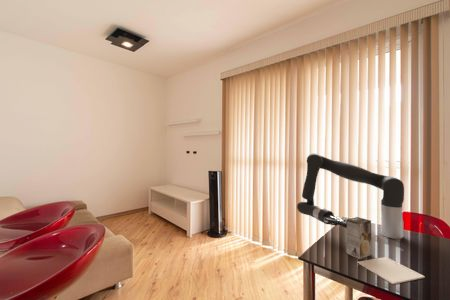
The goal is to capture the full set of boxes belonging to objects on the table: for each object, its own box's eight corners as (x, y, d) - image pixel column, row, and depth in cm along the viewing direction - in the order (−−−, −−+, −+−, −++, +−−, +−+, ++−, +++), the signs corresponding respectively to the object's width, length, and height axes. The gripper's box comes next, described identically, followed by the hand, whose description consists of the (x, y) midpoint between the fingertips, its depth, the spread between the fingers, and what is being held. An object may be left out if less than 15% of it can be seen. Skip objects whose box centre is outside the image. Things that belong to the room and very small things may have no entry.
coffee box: (357, 249, 100) (357, 216, 100) (371, 255, 94) (371, 220, 94) (345, 253, 96) (345, 219, 96) (360, 260, 90) (360, 223, 90)
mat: (386, 258, 91) (386, 257, 91) (424, 277, 77) (424, 276, 77) (357, 262, 88) (357, 261, 88) (392, 284, 73) (392, 283, 73)
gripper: (313, 209, 116) (336, 219, 99) (332, 207, 119) (358, 217, 102) (313, 222, 116) (336, 234, 99) (332, 220, 119) (358, 232, 102)
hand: (347, 225), depth 101 cm, fingers closed
